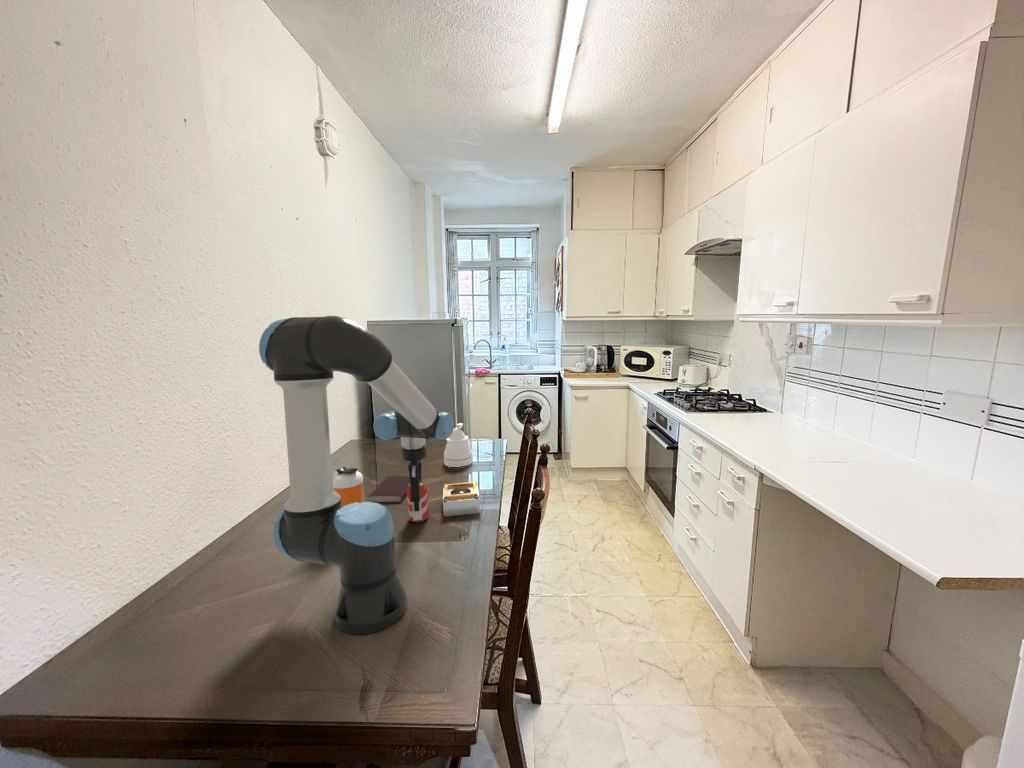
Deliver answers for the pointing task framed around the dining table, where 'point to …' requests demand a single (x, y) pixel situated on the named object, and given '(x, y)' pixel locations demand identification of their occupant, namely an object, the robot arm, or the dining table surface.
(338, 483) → the shaker bottle
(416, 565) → the dining table surface
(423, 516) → the beverage can
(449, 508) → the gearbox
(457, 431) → the honey pot
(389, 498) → the book
